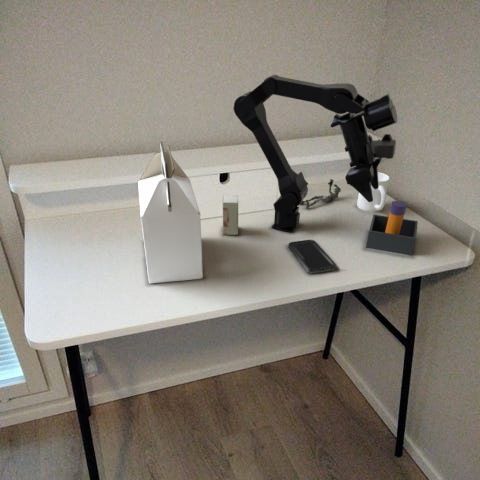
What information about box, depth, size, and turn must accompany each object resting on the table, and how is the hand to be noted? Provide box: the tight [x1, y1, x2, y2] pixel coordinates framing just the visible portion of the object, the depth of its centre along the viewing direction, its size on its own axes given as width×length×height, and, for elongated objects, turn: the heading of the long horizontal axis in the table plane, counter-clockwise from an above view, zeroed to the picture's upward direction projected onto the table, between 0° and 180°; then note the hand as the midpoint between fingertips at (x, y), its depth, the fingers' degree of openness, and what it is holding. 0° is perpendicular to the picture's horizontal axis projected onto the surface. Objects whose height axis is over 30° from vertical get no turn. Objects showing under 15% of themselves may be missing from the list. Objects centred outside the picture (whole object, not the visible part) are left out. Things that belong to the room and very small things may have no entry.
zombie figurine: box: [299, 178, 342, 210], centre depth 151 cm, size 5×7×15 cm
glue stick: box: [385, 200, 408, 235], centre depth 127 cm, size 4×4×12 cm
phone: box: [287, 239, 337, 274], centre depth 124 cm, size 8×1×15 cm
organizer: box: [365, 214, 419, 257], centre depth 129 cm, size 12×11×6 cm
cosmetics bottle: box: [222, 194, 239, 236], centre depth 132 cm, size 5×4×10 cm
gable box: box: [137, 141, 204, 284], centre depth 114 cm, size 22×13×28 cm, turn 11°
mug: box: [356, 171, 390, 213], centre depth 145 cm, size 12×8×10 cm
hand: (373, 195), depth 123 cm, fingers open, 9 cm apart
